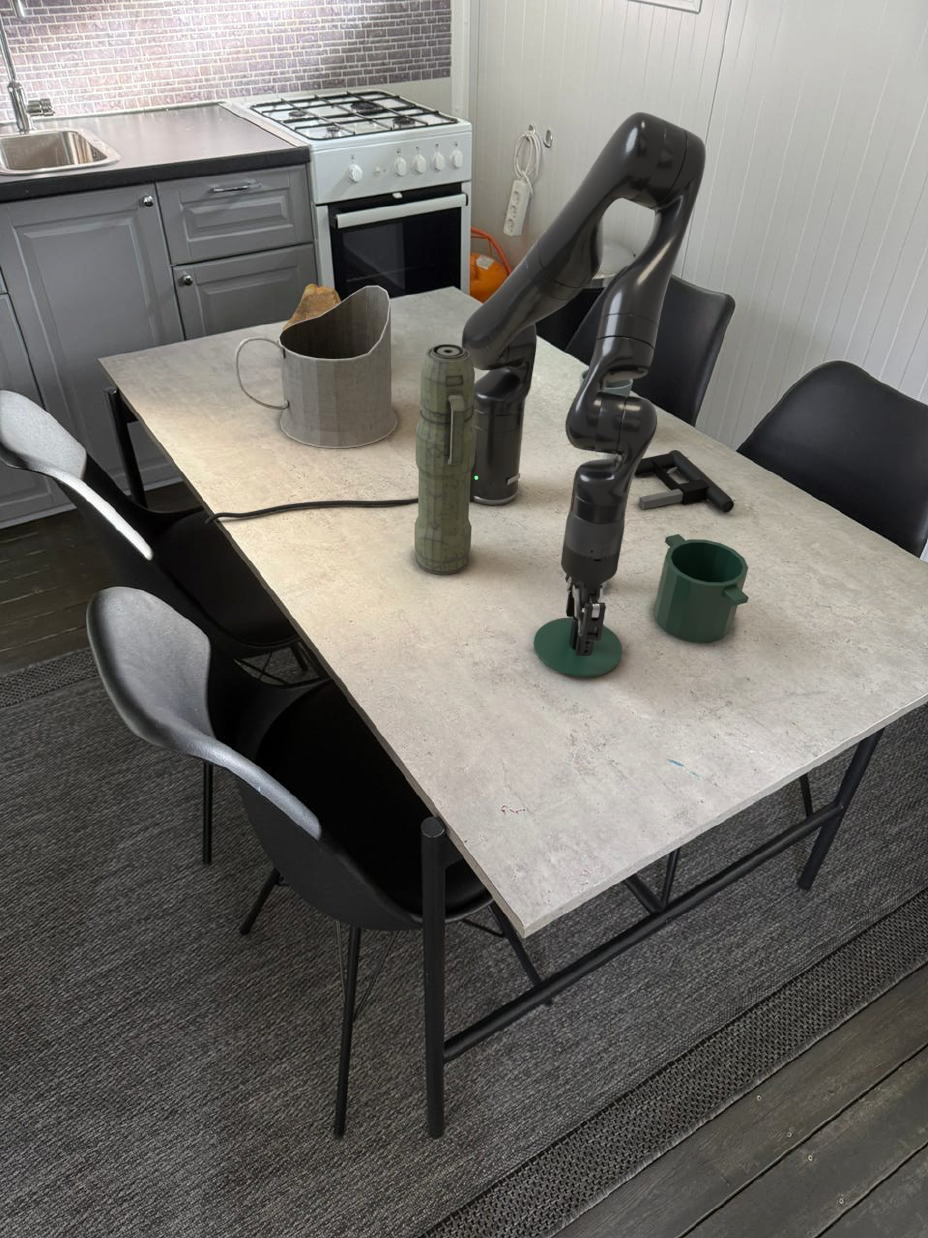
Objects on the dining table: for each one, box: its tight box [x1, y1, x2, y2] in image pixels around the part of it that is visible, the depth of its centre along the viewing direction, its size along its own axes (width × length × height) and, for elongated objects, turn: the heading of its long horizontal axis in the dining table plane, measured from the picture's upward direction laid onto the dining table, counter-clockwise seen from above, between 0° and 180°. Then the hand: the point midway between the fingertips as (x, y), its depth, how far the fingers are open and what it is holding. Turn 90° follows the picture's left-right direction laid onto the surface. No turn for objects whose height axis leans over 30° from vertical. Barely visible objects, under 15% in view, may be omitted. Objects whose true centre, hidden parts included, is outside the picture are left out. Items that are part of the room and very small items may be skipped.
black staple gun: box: [634, 449, 736, 514], centre depth 166 cm, size 3×20×16 cm
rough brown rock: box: [276, 283, 342, 344], centre depth 200 cm, size 23×17×15 cm
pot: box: [653, 533, 750, 644], centre depth 134 cm, size 12×17×10 cm
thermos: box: [414, 343, 476, 576], centre depth 136 cm, size 9×12×35 cm
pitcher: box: [233, 285, 398, 449], centre depth 174 cm, size 23×32×25 cm
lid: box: [533, 611, 623, 678], centre depth 129 cm, size 13×13×6 cm
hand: (578, 634), depth 129 cm, fingers open, 8 cm apart
